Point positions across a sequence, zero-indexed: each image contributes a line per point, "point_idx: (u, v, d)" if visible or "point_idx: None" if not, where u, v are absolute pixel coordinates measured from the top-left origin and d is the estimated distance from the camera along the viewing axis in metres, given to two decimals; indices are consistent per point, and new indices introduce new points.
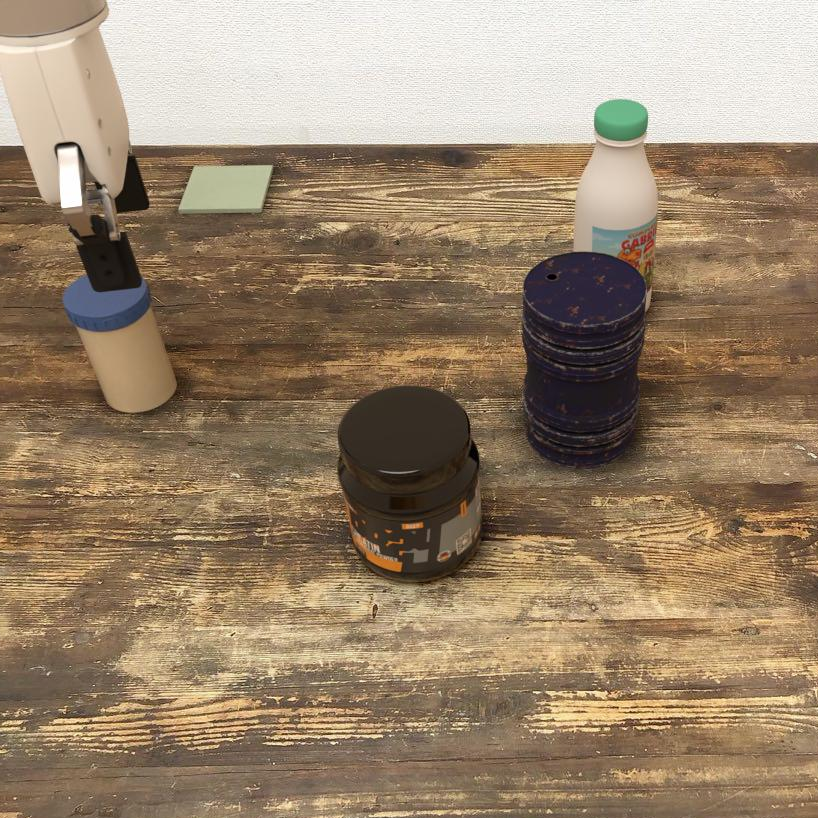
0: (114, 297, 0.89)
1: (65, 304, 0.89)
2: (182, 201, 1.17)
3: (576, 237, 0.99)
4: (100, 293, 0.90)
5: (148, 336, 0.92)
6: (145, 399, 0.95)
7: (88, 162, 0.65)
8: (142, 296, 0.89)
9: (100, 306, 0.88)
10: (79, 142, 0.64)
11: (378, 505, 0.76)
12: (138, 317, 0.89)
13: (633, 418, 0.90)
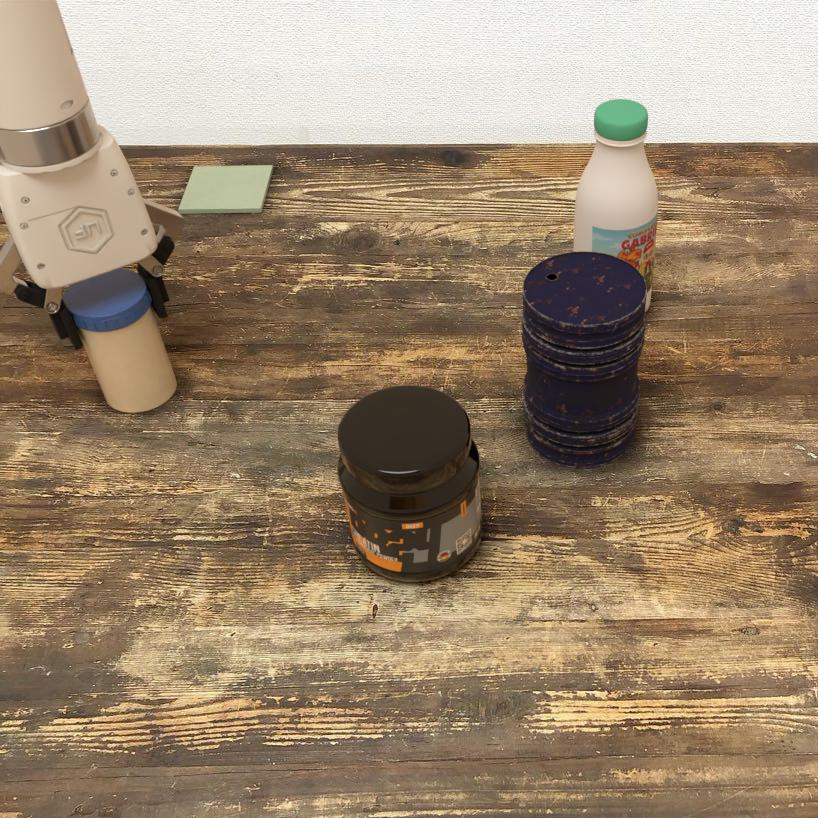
0: (114, 297, 0.89)
1: (65, 304, 0.89)
2: (182, 201, 1.17)
3: (576, 237, 0.99)
4: (100, 293, 0.90)
5: (148, 336, 0.92)
6: (145, 399, 0.95)
7: None
8: (142, 296, 0.89)
9: (100, 306, 0.88)
10: None
11: (378, 505, 0.76)
12: (138, 317, 0.89)
13: (633, 418, 0.90)
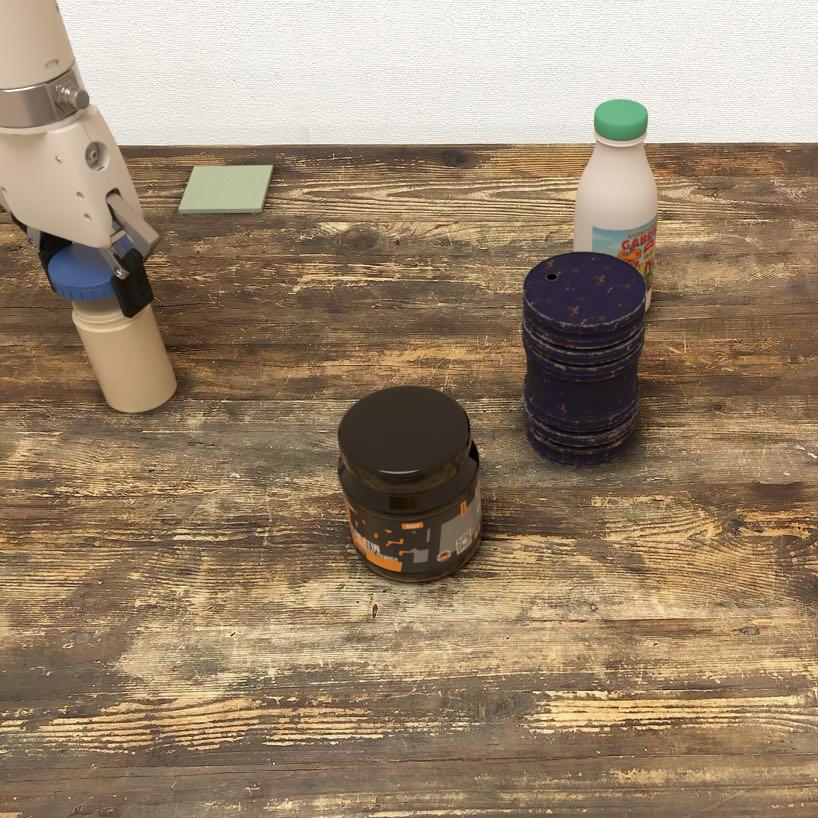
0: (97, 252, 0.88)
1: None
2: (182, 201, 1.17)
3: (576, 237, 0.99)
4: (94, 262, 0.87)
5: (148, 336, 0.92)
6: (145, 399, 0.95)
7: None
8: None
9: None
10: None
11: (378, 505, 0.76)
12: None
13: (633, 418, 0.90)
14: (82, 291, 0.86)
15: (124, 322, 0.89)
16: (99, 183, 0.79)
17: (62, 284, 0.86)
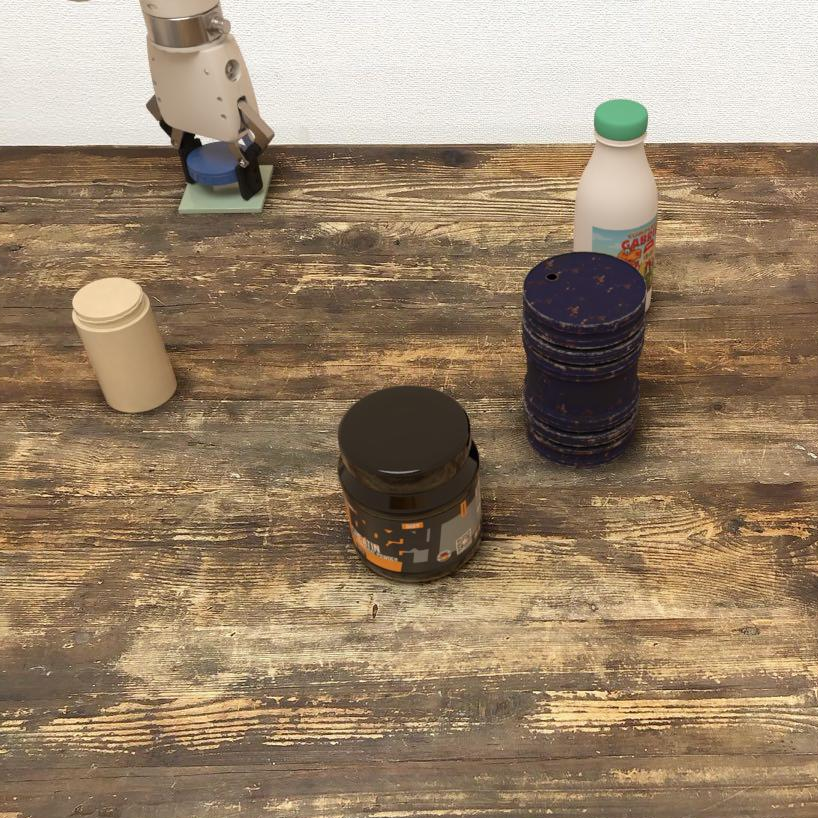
0: (222, 150, 1.17)
1: None
2: (182, 201, 1.17)
3: (576, 237, 0.99)
4: (221, 157, 1.17)
5: (148, 336, 0.92)
6: (145, 399, 0.95)
7: None
8: (213, 142, 1.19)
9: None
10: None
11: (379, 505, 0.76)
12: None
13: (633, 418, 0.90)
14: (213, 177, 1.15)
15: (124, 322, 0.89)
16: (233, 91, 1.08)
17: (198, 171, 1.15)
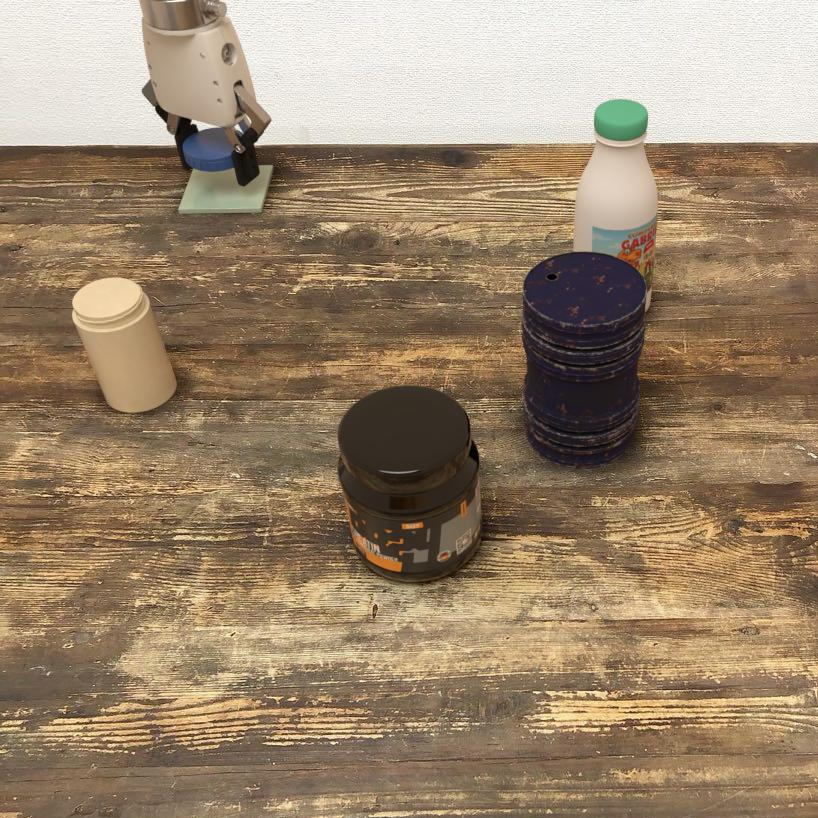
0: (218, 136, 1.16)
1: None
2: (182, 201, 1.17)
3: (576, 237, 0.99)
4: (217, 143, 1.15)
5: (148, 336, 0.92)
6: (145, 399, 0.95)
7: None
8: (210, 128, 1.18)
9: None
10: None
11: (378, 505, 0.76)
12: None
13: (633, 418, 0.90)
14: (210, 163, 1.14)
15: (124, 322, 0.89)
16: (229, 75, 1.07)
17: (194, 157, 1.13)
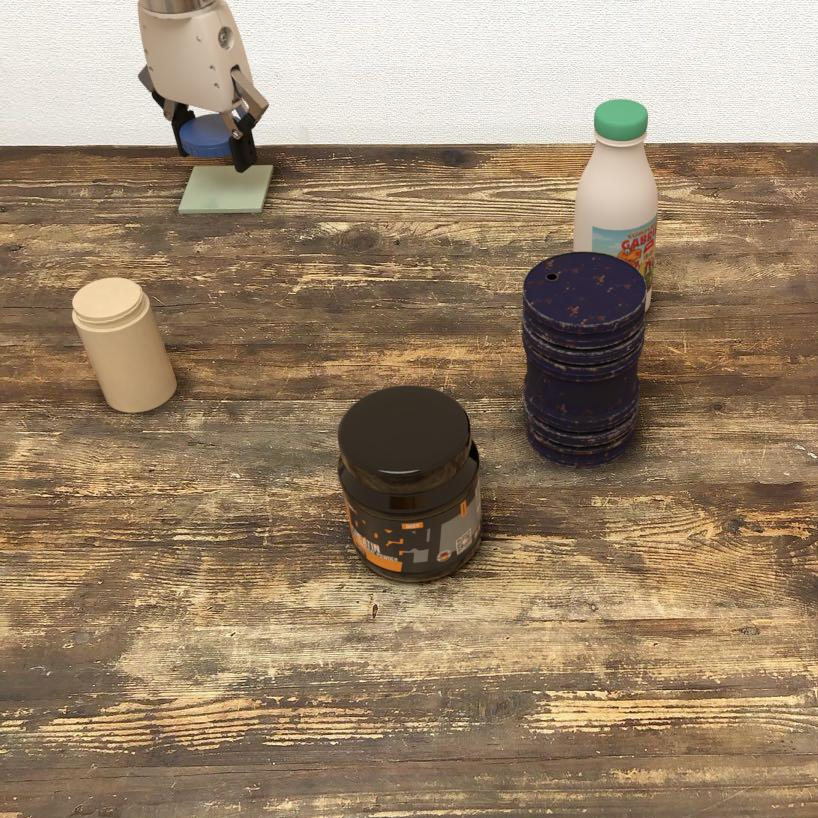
0: (215, 122, 1.15)
1: None
2: (182, 201, 1.17)
3: (576, 237, 0.99)
4: (214, 129, 1.14)
5: (148, 336, 0.92)
6: (145, 399, 0.95)
7: None
8: (207, 114, 1.16)
9: None
10: None
11: (379, 505, 0.76)
12: None
13: (633, 418, 0.90)
14: (207, 149, 1.12)
15: (124, 322, 0.89)
16: (226, 59, 1.06)
17: (191, 143, 1.12)
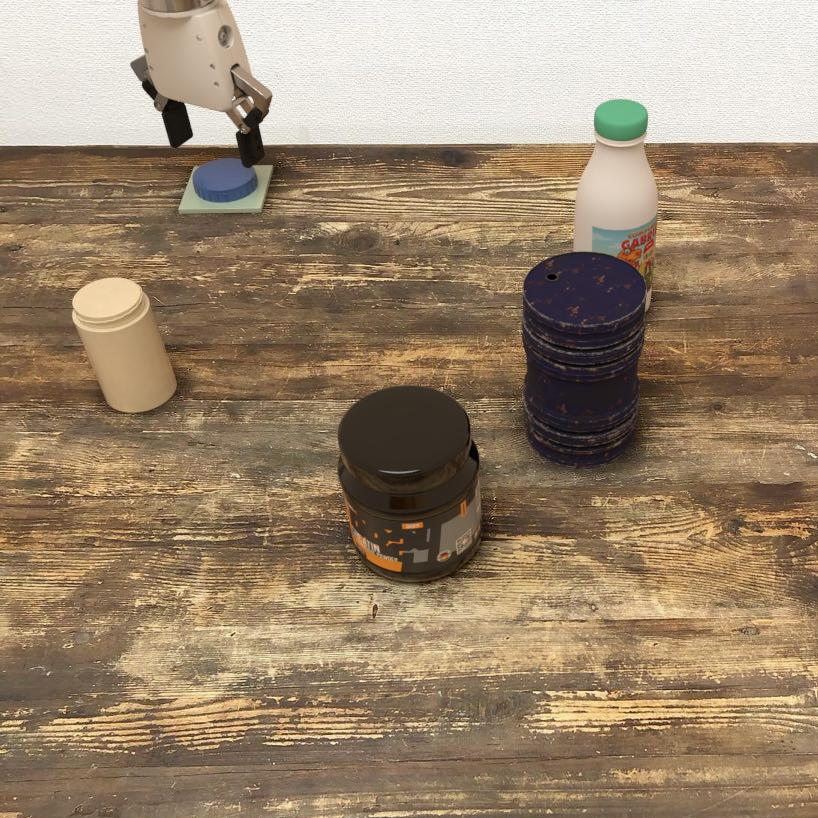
0: (227, 167, 1.19)
1: (247, 181, 1.17)
2: (182, 201, 1.17)
3: (576, 237, 0.99)
4: (226, 174, 1.18)
5: (148, 336, 0.92)
6: (145, 399, 0.95)
7: None
8: (219, 159, 1.20)
9: (240, 168, 1.19)
10: None
11: (379, 505, 0.76)
12: None
13: (633, 418, 0.90)
14: (219, 194, 1.16)
15: (124, 322, 0.89)
16: (226, 58, 1.06)
17: (204, 189, 1.16)
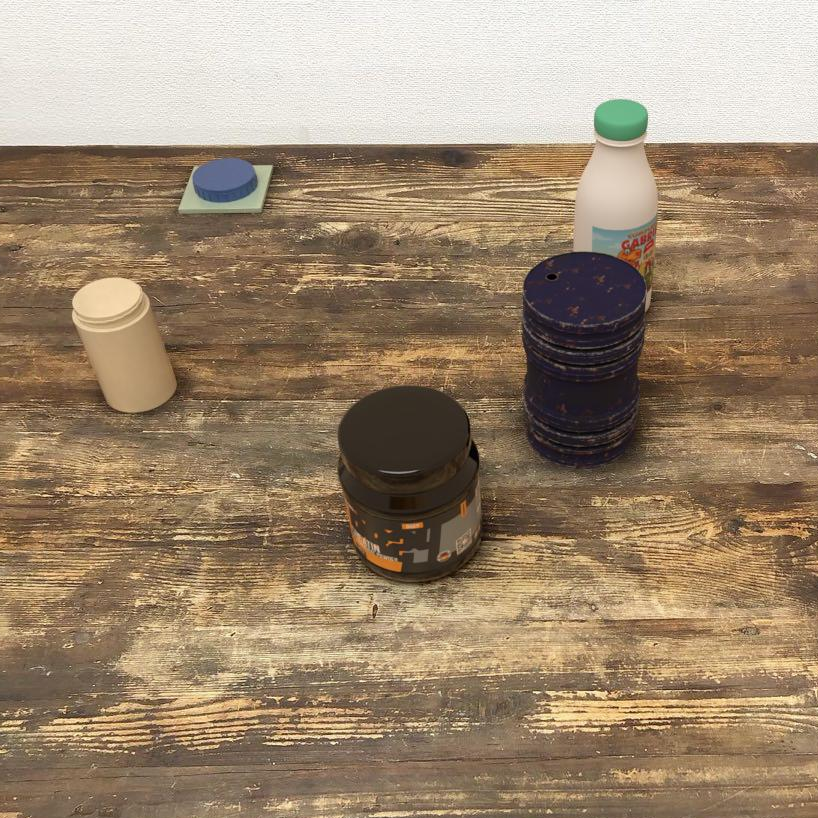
0: (227, 167, 1.19)
1: (247, 181, 1.17)
2: (182, 201, 1.17)
3: (576, 237, 0.99)
4: (226, 174, 1.18)
5: (148, 336, 0.92)
6: (145, 399, 0.95)
7: None
8: (219, 159, 1.20)
9: (240, 168, 1.19)
10: None
11: (378, 505, 0.76)
12: None
13: (633, 418, 0.90)
14: (219, 194, 1.16)
15: (124, 322, 0.89)
16: None
17: (204, 189, 1.16)
